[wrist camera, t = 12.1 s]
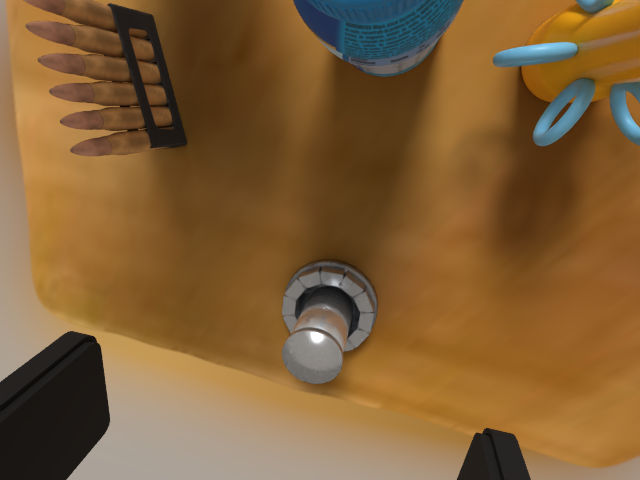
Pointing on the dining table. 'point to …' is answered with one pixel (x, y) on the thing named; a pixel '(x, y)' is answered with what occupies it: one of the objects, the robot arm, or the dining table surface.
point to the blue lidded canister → (379, 30)
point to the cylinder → (582, 64)
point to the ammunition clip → (113, 76)
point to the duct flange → (341, 278)
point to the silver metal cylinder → (319, 336)
